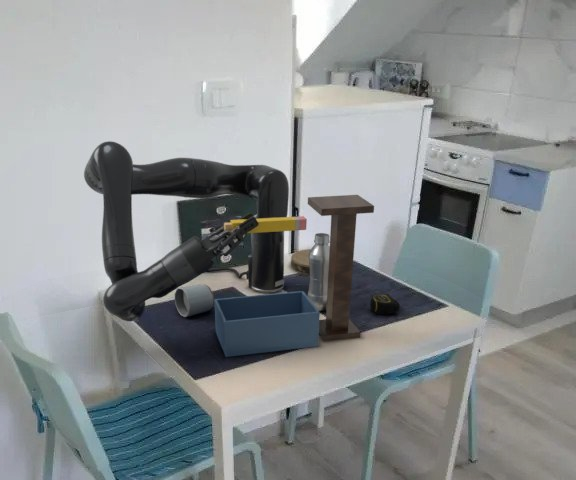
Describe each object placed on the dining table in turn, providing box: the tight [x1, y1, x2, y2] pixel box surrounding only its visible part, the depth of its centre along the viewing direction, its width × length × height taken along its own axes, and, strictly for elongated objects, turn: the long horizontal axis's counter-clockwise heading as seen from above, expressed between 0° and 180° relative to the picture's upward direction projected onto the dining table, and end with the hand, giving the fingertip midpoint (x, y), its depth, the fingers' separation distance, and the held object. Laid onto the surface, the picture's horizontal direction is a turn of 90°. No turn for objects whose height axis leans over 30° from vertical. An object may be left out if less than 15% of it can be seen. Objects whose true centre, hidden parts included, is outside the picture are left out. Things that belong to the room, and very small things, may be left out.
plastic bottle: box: [306, 232, 330, 312], centre depth 160 cm, size 6×7×20 cm
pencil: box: [223, 215, 307, 234], centre depth 134 cm, size 18×2×2 cm, turn 106°
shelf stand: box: [307, 194, 375, 342], centre depth 145 cm, size 12×10×32 cm
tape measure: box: [369, 293, 401, 315], centre depth 163 cm, size 7×7×4 cm
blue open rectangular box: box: [213, 290, 321, 358], centre depth 146 cm, size 22×13×9 cm, turn 106°
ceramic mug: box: [174, 283, 215, 318], centre depth 160 cm, size 11×8×8 cm
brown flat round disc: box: [290, 248, 311, 276], centre depth 192 cm, size 16×16×3 cm
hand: (254, 218), depth 133 cm, fingers closed on pencil, 2 cm apart
